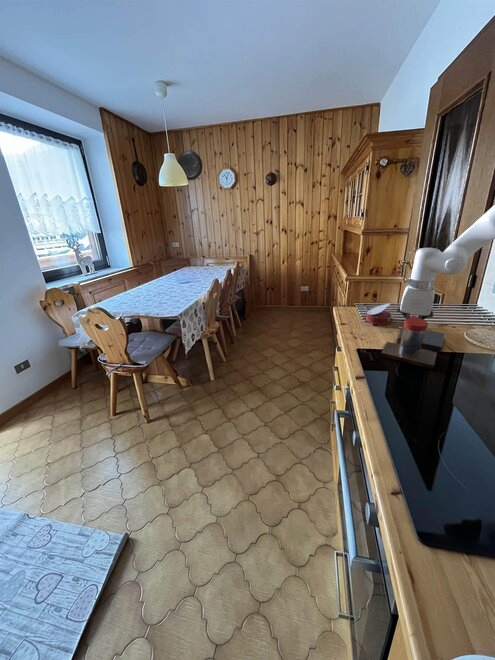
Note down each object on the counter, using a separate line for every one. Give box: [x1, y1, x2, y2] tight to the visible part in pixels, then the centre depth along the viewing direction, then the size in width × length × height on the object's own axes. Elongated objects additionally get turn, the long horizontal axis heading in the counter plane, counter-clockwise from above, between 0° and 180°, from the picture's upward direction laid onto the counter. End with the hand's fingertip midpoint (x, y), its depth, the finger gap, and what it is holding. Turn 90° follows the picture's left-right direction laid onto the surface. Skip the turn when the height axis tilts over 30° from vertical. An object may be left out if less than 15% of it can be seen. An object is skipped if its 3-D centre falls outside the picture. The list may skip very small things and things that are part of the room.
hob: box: [396, 325, 445, 354], centre depth 108 cm, size 15×13×3 cm
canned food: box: [365, 302, 392, 325], centre depth 124 cm, size 11×10×10 cm
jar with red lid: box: [399, 317, 429, 358], centre depth 96 cm, size 7×7×12 cm
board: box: [380, 341, 438, 370], centre depth 99 cm, size 16×9×2 cm, turn 54°
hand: (411, 328), depth 111 cm, fingers closed, pressing on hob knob
